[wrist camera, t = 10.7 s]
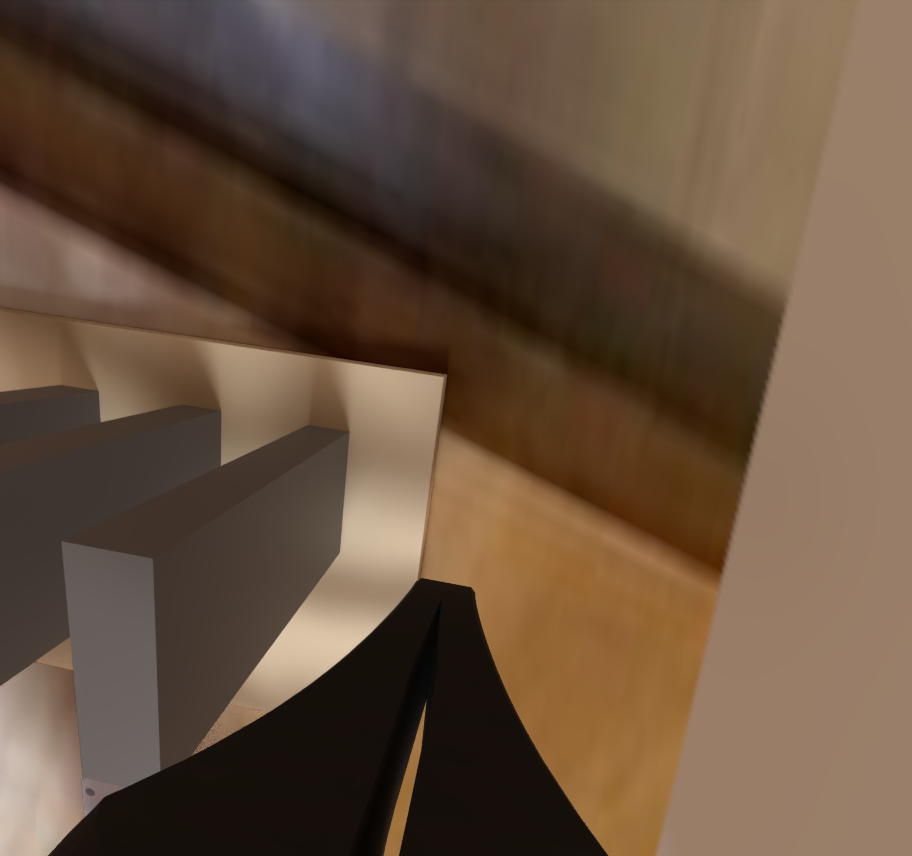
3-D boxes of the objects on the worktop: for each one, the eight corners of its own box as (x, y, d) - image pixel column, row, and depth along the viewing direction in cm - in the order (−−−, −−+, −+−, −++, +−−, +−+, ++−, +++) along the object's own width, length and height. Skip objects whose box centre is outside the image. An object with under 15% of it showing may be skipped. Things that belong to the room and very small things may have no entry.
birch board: (401, 719, 19) (396, 739, 18) (-171, 598, 21) (-203, 611, 20) (447, 374, 16) (443, 377, 15) (-250, 270, 18) (-294, 266, 17)
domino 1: (221, 410, 16) (-124, 505, 7) (220, 531, 17) (-78, 740, 8) (181, 404, 16) (-206, 490, 7) (183, 524, 17) (-150, 723, 8)
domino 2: (349, 431, 15) (153, 558, 7) (339, 552, 17) (161, 795, 8) (308, 424, 16) (61, 541, 7) (301, 545, 17) (82, 777, 8)
